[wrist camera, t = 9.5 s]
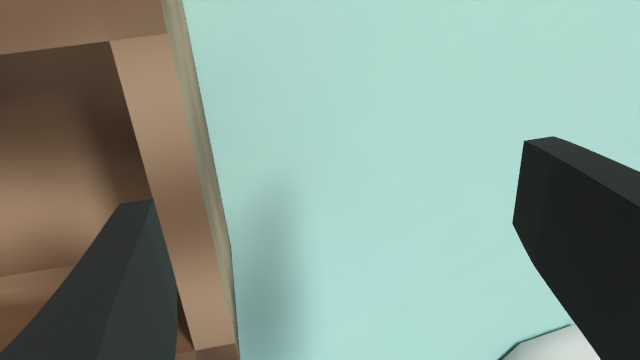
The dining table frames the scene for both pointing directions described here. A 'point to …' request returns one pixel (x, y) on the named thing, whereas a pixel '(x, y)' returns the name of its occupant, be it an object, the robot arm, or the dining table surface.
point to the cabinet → (107, 156)
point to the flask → (555, 347)
